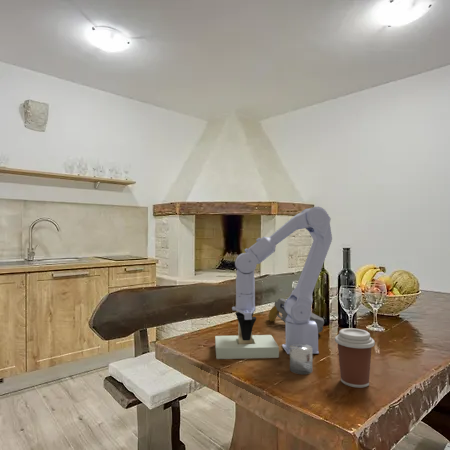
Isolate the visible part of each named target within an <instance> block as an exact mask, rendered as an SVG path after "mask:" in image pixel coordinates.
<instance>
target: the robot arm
mask: <svg viewBox="0 0 450 450" xmlns="http://www.w3.org/2000/svg"><path fill="white" fill-rule="evenodd" d="M331 219H332V218H331V217H330V216H329V213H328V212H327V211H326V209H325V208H324V207H321V206H314V207H313V206H312V207H310V208H305V209H303V210H302V211H301V212H298V213H297V214H295V215H294V216H292V217H291V218H290V219H289V220H287V222H285V223H284V224H283V225H282V226H280V227H279V228H278V229H277V230H276V231H275V232H273V234H271V235H270V236H262V237H258V238H256V239H255V241H256V242H255V243H254V244H252V245H250V247H248V248H245V249H244V252H242V253H240V254H238V255H237V257H236V258H235V261H234V266H235V268H236V272H235V273H236V278H235V306H232V307H231V309H232V311H234V313H235V316H236V319H237V321H239V323H240V327H241V334H242V339H243V340H250V338H251V333H252V334H253V328H254V325H255V323H256V321H257V317H256V316H254V312H255V311H256V288H255V286H256V285H255V284H256V283H255V282H256V278H255V271H256V268H257V265H259V264H261V263H262V262H263V261H265V260H266V259H267V258H268V257H270V256H271V255H272V254H273V253H275V251H276V247H277V245H278V244H279V243H281V242H283V240H285V239H286V238H288V237H289V236H291V235H292V234H293V233H294V232H296V231H297V230H304V229H306V230H307V231H308V233H309V234H310V236H311V238H312V243H311V246H310V249H309V252H308V255H307V257H306V260H305V263H304V265H303V268H302V270H301V273H300V276H299V279H298V281H297V284H296V286H295V288H294V289H293V290H292V291H291V293H290V295H289V297H288V298H286V299H285V300H286V301H285V303H284V309H285V311H286V313H287V314H288V315H287V317H286V319H285V320H286V321H285V322H284V323H285V343H283V344H281V347H282V348H283V350H284V351H285V353H286V354H287V355H290V345H292V344H307V345H310V346H311V347H312V355H315V354H317V355H318V354H320V352H319V333H318V328H317V324H316V322H315V321H309V319H310V317H311V314H312V313H313V312H312V305H313V301H314V300H313V292H314V290H315V287H316V285H317V282H318V279H319V276H320V274H321V271H322V268H323V265H324V263H325V261H326V258H327V256H328V253H329V249H330V246H331V244H332V242H333V241H332V240H333V235H332V229H331V228H332V227H331ZM235 311H236V312H235Z"/></svg>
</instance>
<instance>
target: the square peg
mask: <svg viewBox="0 0 450 450" xmlns="http://www.w3.org/2000/svg"><path fill="white" fill-rule="evenodd" d="M237 321H238V320H237ZM237 323H238V324H237V326H238V327H237V333H238V334H237V335H238V344H252V335H253V332H252V333H251V338H250V340H243V339H242V334H241V327H240V323H239V321H238V322H237Z"/></svg>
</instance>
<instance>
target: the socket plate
mask: <svg viewBox="0 0 450 450" xmlns="http://www.w3.org/2000/svg"><path fill="white" fill-rule="evenodd" d="M214 337H215V338H214V339H215V340H214V341H215V342H214V343H215V345H214V346H215V356H216V357H215V359H216V360H233V359H235V360H237V359H276V358H280V346H279V345H278V343H277V341H276V340H275V339H274V337H273V336H272V334H255V335H254V334H252V344H238V334H237V335H215V336H214Z"/></svg>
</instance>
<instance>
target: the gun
mask: <svg viewBox="0 0 450 450" xmlns="http://www.w3.org/2000/svg"><path fill="white" fill-rule="evenodd" d="M286 300H287V299H285V298H283V297H281V298H278V299H277V301H274V305H273V306H272V307H271V308H270V310H269V313H268V315H267V316H268V320H269V321H270V322H271V323H272V322H276V319H277V317H278V318H279V319H281V321H282V322H283V323H285V321H286V320H285V319H286V317H287V315H288V314H287V313H286V311H285V309H284V303H285V301H286ZM280 314H281V315H280ZM309 321H315V322H316V324H317V328H318V334H319V333H322V332H323V329H324V328H323V326H325V325H324V324H325V320H324V318H323V317H320V316H319V315H317V314H315V313H313V312H312V314H311V317H310V319H309Z"/></svg>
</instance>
